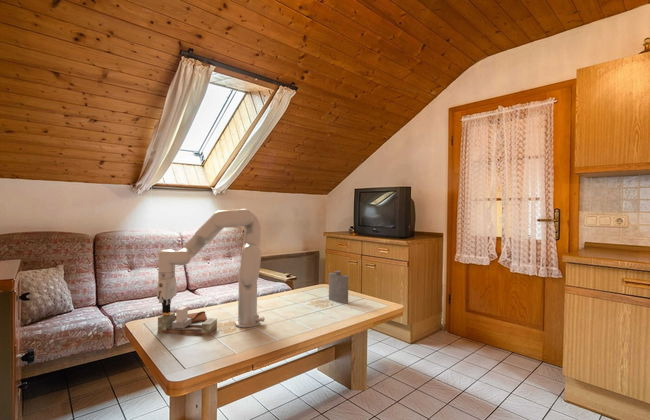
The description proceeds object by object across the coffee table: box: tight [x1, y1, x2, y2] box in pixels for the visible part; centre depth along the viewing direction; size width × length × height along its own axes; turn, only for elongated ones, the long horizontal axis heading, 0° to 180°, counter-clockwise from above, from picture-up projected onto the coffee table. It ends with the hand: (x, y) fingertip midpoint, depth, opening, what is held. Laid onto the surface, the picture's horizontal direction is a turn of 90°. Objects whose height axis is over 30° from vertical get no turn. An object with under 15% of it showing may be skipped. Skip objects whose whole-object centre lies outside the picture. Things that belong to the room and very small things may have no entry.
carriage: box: [172, 305, 191, 328], centre depth 163 cm, size 6×7×8 cm
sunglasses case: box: [175, 310, 208, 325], centre depth 177 cm, size 18×7×7 cm
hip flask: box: [328, 270, 349, 305], centre depth 218 cm, size 16×4×20 cm, turn 46°
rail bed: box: [157, 311, 218, 337], centre depth 163 cm, size 26×8×8 cm, turn 84°
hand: (166, 312), depth 164 cm, fingers closed
